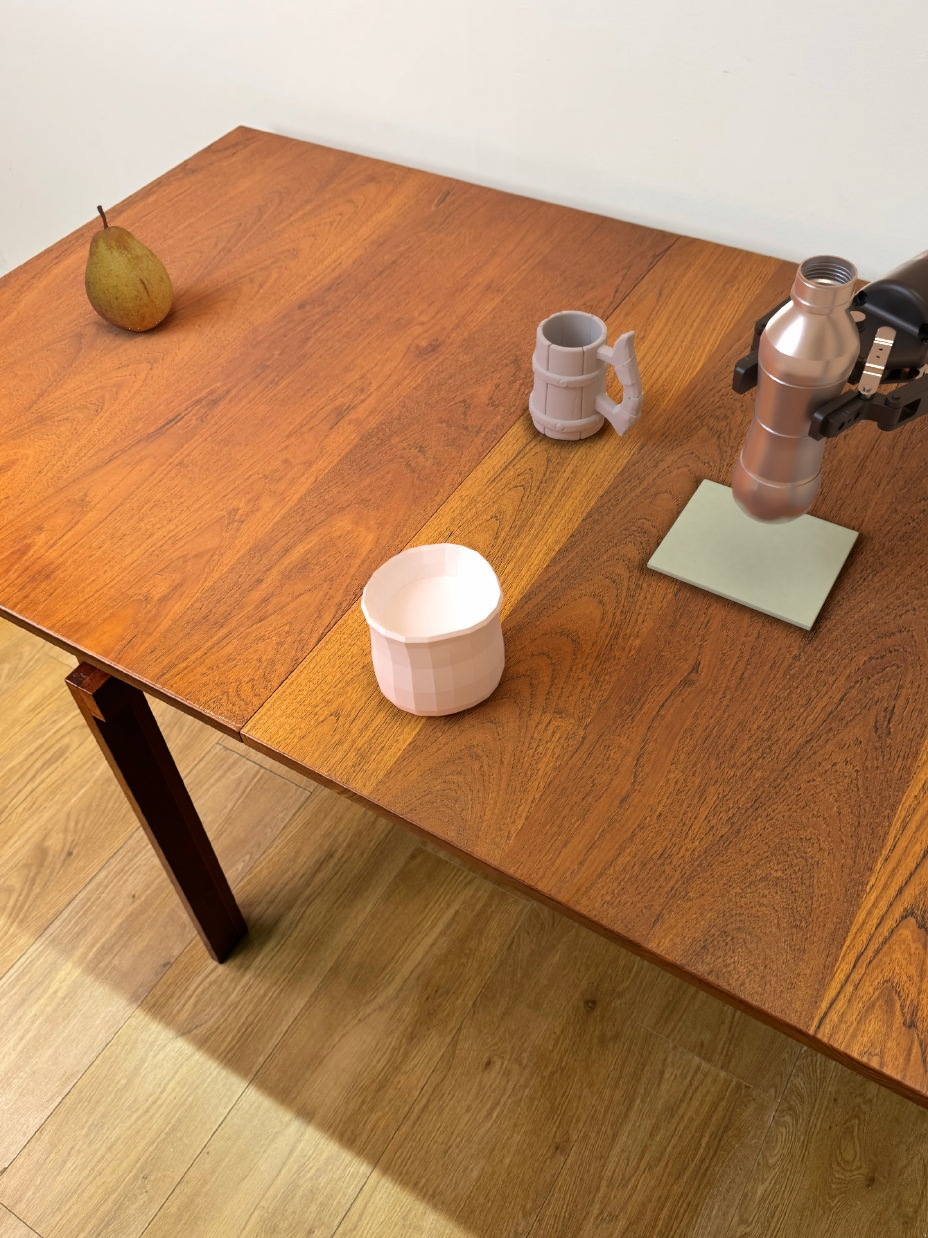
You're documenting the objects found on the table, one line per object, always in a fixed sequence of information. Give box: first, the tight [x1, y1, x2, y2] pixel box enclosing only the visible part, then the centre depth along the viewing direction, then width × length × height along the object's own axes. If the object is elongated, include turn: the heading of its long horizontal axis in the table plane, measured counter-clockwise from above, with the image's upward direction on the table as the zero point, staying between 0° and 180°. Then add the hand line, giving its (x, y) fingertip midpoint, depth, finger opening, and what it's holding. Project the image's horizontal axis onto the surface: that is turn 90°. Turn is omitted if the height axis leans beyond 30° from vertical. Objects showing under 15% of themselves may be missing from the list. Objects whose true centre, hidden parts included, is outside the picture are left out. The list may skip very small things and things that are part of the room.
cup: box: [360, 542, 506, 717], centre depth 74 cm, size 10×10×10 cm
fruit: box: [84, 204, 174, 333], centre depth 107 cm, size 9×9×12 cm
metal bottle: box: [731, 254, 860, 525], centre depth 69 cm, size 6×7×20 cm
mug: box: [528, 310, 645, 441], centre depth 91 cm, size 8×12×12 cm, turn 49°
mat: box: [646, 478, 860, 631], centre depth 84 cm, size 14×12×1 cm
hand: (774, 403), depth 67 cm, fingers closed on metal bottle, 6 cm apart
